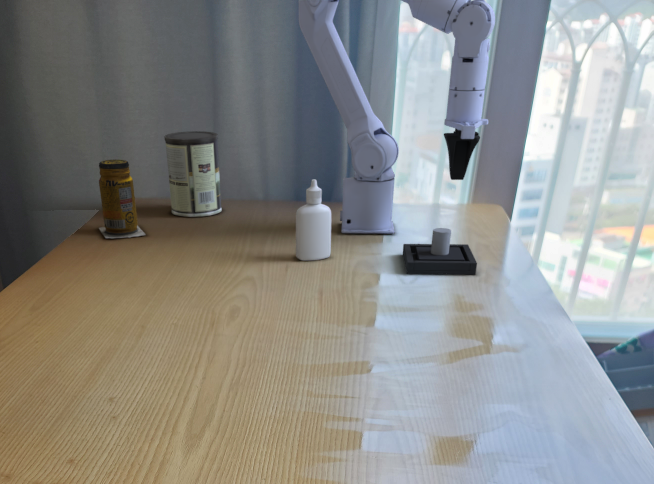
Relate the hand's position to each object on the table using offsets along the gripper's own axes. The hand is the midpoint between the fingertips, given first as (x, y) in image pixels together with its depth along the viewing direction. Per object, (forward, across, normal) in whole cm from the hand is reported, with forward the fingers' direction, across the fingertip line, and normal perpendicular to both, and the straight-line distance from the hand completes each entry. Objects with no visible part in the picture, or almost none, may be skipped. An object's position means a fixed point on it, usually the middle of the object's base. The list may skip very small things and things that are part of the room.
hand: (456, 179), depth 129 cm
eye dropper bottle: (+10, -15, +24) cm, 30 cm away
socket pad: (+9, -18, +4) cm, 21 cm away
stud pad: (+9, -18, +4) cm, 20 cm away
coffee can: (+10, +17, +49) cm, 53 cm away
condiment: (+10, 0, +60) cm, 61 cm away
